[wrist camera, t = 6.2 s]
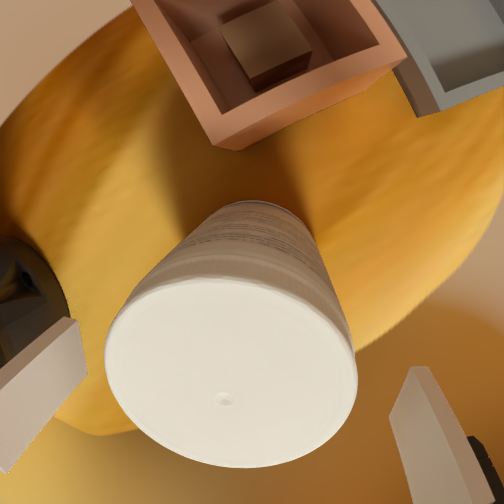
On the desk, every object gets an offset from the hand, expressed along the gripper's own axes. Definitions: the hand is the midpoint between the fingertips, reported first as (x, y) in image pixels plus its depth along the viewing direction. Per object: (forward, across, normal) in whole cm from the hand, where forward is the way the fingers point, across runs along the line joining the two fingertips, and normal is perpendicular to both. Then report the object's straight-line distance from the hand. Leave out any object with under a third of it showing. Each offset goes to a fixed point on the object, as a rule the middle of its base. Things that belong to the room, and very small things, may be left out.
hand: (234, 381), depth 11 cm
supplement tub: (+14, 0, 0) cm, 14 cm away
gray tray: (+14, +12, +23) cm, 30 cm away
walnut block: (+12, -1, +15) cm, 20 cm away
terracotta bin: (+14, -1, +15) cm, 20 cm away
